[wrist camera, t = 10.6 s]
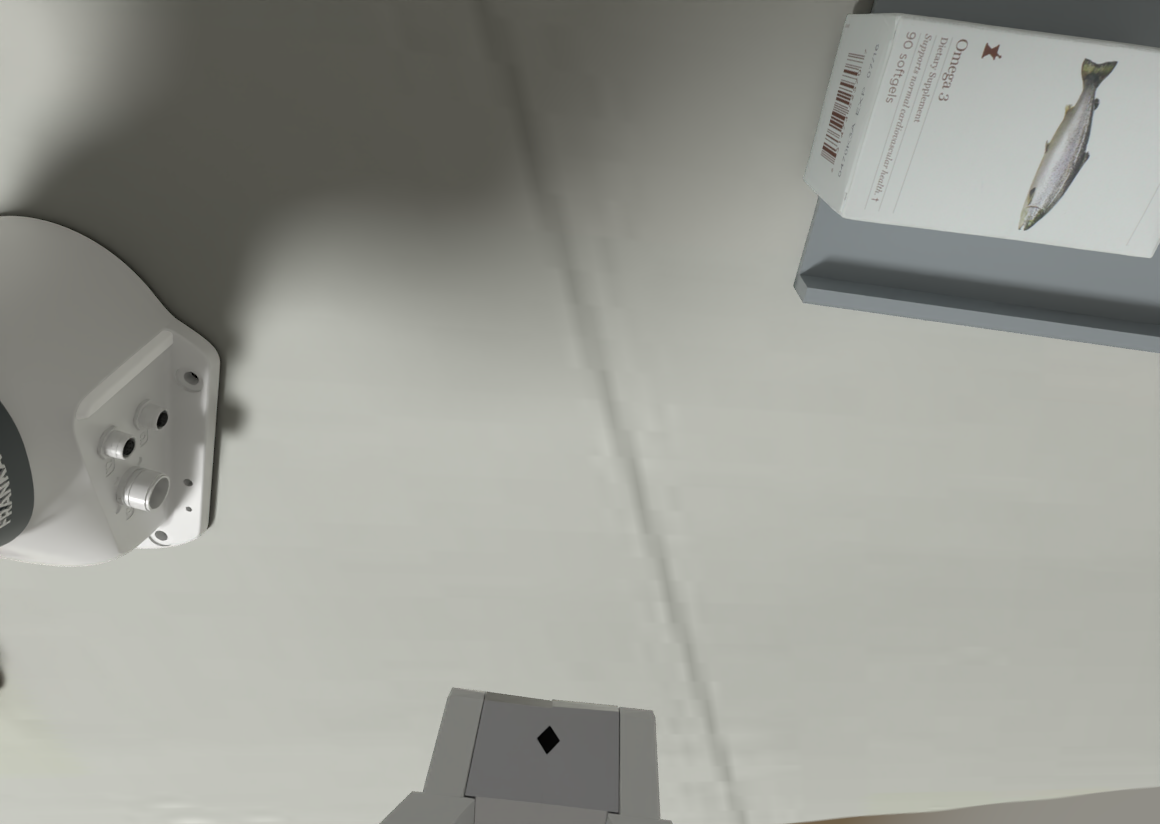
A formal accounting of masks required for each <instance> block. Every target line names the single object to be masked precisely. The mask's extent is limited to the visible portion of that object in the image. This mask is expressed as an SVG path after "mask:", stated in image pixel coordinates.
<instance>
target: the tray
mask: <svg viewBox="0 0 1160 824" xmlns="http://www.w3.org/2000/svg"><path fill="white" fill-rule="evenodd" d="M875 13H904V14H912V15H920V16H928V17H936V18H944V19H952V20H959V21H965V22H972V23H979V24H985V25H993V26H1001V27H1008V28H1016V29H1023V30H1031V31H1038V32H1046V33H1054V34H1061V35H1069V36H1076V37H1084V38H1091V39H1099V40H1107V41H1114V42H1122V43H1129V44H1136V45H1143V46H1150V47H1157V48H1160V0H874V4H873V7H872V11H871V14H875ZM794 288H795V290H796V291H797V293H798V295H799V297H800V299H801V300H802V302H803V303H808V304H815V305H822V306H829V307H836V308H843V309H850V310H858V311H865V312H872V313H879V314H886V315H893V316H900V317H907V318H914V319H921V320H928V321H935V322H942V323H950V324H957V325H964V326H971V327H978V328H985V329H992V330H999V331H1006V332H1013V333H1020V334H1027V335H1034V336H1042V337H1049V338H1056V339H1063V340H1070V341H1077V342H1084V343H1091V344H1098V345H1105V346H1112V347H1119V348H1126V349H1134V350H1141V351H1148V352H1155V353H1160V243H1159V245H1158V247H1157V249H1156V251H1155V253H1154V255H1153V256H1152V257H1151V258H1143V257H1135V256H1127V255H1120V254H1113V253H1106V252H1098V251H1090V250H1082V249H1075V248H1068V247H1061V246H1054V245H1046V244H1039V243H1032V242H1025V241H1018V240H1011V239H1003V238H995V237H987V236H979V235H971V234H962V233H954V232H947V231H938V230H931V229H923V228H914V227H906V226H897V225H889V224H880V223H873V222H866V221H858V220H852V219H846V218H843V217H842V216H841V215H840V214H838V213H837V212H836V211H834V210H833V209H832V208H831V207H830V206H829V205H828V204H827V203H826V202H825V201H824V200H823V199H822V198H820V197H819V198H818V201H817V205H816V208H815V212H814V215H813V219H812V222H811V226H810V229H809V233H808V236H807V240H806V243H805V247H804V250H803V254H802V257H801V261H800V265H799V268H798V272H797V275H796V279H795V282H794Z"/></svg>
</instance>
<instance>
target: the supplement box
mask: <svg viewBox="0 0 1160 824" xmlns="http://www.w3.org/2000/svg"><path fill="white" fill-rule="evenodd" d="M803 180H804V181H805V183H806V184H808V186H809V187H810V188H811V189H812V190H813V191H814V192H815V193H816V194H817V195H818V196H819V197H820V198H822V199H823V200H824V201H825V202H826V203H827V204H828V205H829V206H830V207H831V208H832V209H833V210H834V211H836V212H837V213H838V214H840V215H841V216H842V217H843V218H846V219H852V220H858V221H866V222H873V223H880V224H889V225H897V226H906V227H914V228H923V229H931V230H938V231H947V232H954V233H962V234H971V235H979V236H987V237H995V238H1003V239H1011V240H1018V241H1025V242H1032V243H1039V244H1046V245H1054V246H1061V247H1068V248H1075V249H1082V250H1090V251H1098V252H1106V253H1113V254H1120V255H1127V256H1135V257H1143V258H1151V257H1152V256H1153V255H1154V253H1155V251H1156V249H1157V247H1158V245H1159V243H1160V48H1157V47H1150V46H1143V45H1136V44H1129V43H1122V42H1114V41H1107V40H1099V39H1091V38H1084V37H1076V36H1069V35H1061V34H1054V33H1046V32H1038V31H1031V30H1023V29H1016V28H1008V27H1001V26H993V25H985V24H979V23H972V22H965V21H959V20H952V19H944V18H936V17H928V16H920V15H912V14H904V13H875V14H848V15H847V17H846V20H845V24H844V27H843V31H842V35H841V39H840V43H839V47H838V50H837V54H836V58H835V62H834V65H833V69H832V73H831V77H830V81H829V85H828V88H827V92H826V96H825V99H824V103H823V107H822V111H821V115H820V119H819V123H818V126H817V130H816V134H815V138H814V142H813V146H812V149H811V153H810V157H809V160H808V164H807V167H806V171H805V174H804V177H803Z"/></svg>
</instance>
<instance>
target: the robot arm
mask: <svg viewBox="0 0 1160 824" xmlns="http://www.w3.org/2000/svg"><path fill="white" fill-rule="evenodd" d="M191 372H193V373H194V374H196V375H197V377H198V379H196V378H195V377H194V376H193V375H192V374H191ZM219 373H220V358H219V355H218V353H217V351H216V349H215V348H214V347H213V346H212V345H211V344H210V343H209V342H208V341H207V340H206V339H205V338H203V337H202V336H201V335H199V334H198V333H197V332H195V331H194V330H192V329H191V328H189V327H188V326H186V325H185V324H183V323H182V322H180V321H179V320H177V319H176V318H174V317H173V316H172V315H171V314H170V313H169V312H168V311H167V309H166V308H165V307H164V306H163V305H162V304H161V302H160V301H159V300H158V299H157V297H156V296H155V295H154V294H153V293H152V291H151V290H150V289H149V288H148V286H147V285H146V284H145V283H144V282H143V281H142V280H141V279H140V278H139V277H138V276H137V275H136V274H135V273H134V271H132V270H131V269H130V268H129V267H128V266H127V265H126V264H125V263H124V262H122V261H121V260H120V259H119V258H117V257H116V256H115V255H114V254H112V253H111V252H109V251H108V250H107V249H105V248H104V247H102V246H101V245H99V244H98V243H96V242H94V241H93V240H91V239H89V238H87V237H85V236H83V235H82V234H80V233H78V232H75V231H73V230H71V229H69V228H66V227H63V226H61V225H58V224H55V223H52V222H49V221H45V220H41V219H36V218H30V217H22V216H0V558H5V559H10V560H15V561H21V562H27V563H32V564H41V565H49V566H63V567H79V566H91V565H97V564H103V563H106V562H110V561H113V560H115V559H117V558H120V557H122V556H124V555H126V554H127V553H129V552H130V551H132V550H133V549H135V548H147V549H150V548H166V547H173V546H178V545H182V544H185V543H188V542H191V541H193V540H195V539H197V538H199V537H200V536H201V535H202V534H203V533H204V532H205V531H206V530H207V527H208V522H209V510H210V496H211V483H212V469H213V455H214V441H215V428H216V414H217V400H218V387H219ZM380 824H673V823H672V822H671V821H670V820H664V819H660V802H659V782H658V762H657V742H656V722H655V716H654V713H653V711H652V710H644V709H635V708H625V707H619V708H618V706H614V705H604V704H594V703H584V702H574V701H563V700H553V699H552V701H550V700H543V699H536V698H528V697H521V696H514V695H507V694H500V693H493V692H485V691H477V690H469V689H461V688H452V690H451V692H450V694H449V696H448V698H447V702H446V706H445V709H444V713H443V717H442V721H441V725H440V728H439V732H438V736H437V740H436V743H435V747H434V751H433V755H432V759H431V762H430V766H429V770H428V774H427V778H426V781H425V785H424V789H423V792H414V791H412V792H411V793H410V794H409V795H408V796H407V797H406V798H405V799H404V800H403V801H402V802H401V803H400V804H399V805H398V806H397V807H396V808H395V809H394V810H393V811H392V812H391V813H390V814H389V815H388V816H387V817H386V818H385V819H384V820H383V821H382V822H381V823H380Z"/></svg>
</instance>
